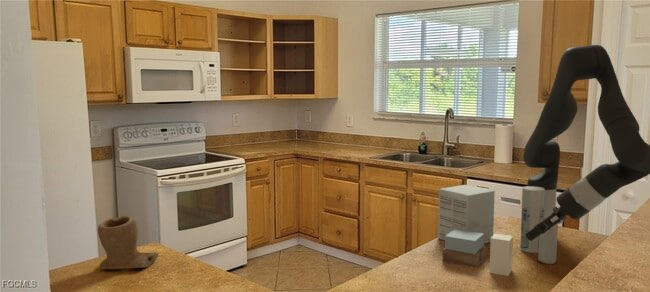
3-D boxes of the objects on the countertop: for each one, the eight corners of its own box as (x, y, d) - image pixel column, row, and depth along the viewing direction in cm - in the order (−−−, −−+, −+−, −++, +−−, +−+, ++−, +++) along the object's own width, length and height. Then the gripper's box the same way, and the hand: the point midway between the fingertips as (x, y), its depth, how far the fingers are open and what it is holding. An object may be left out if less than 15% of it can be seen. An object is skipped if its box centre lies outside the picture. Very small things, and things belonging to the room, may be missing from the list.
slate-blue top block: (454, 241, 159) (454, 228, 158) (483, 246, 154) (484, 233, 153) (444, 249, 151) (445, 236, 151) (474, 254, 146) (475, 240, 146)
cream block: (493, 267, 146) (494, 233, 145) (511, 270, 144) (513, 236, 142) (489, 272, 142) (490, 238, 141) (508, 276, 139) (509, 240, 138)
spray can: (517, 246, 165) (520, 185, 162) (539, 247, 164) (541, 186, 161) (522, 252, 158) (525, 190, 156) (544, 253, 157) (547, 190, 155)
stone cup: (91, 275, 141) (88, 223, 140) (109, 260, 153) (106, 212, 151) (146, 275, 142) (143, 222, 140) (159, 260, 153) (157, 212, 152)
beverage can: (557, 265, 148) (559, 225, 146) (540, 264, 149) (542, 224, 147) (553, 259, 152) (555, 220, 151) (536, 258, 153) (538, 219, 152)
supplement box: (463, 232, 181) (464, 184, 179) (493, 241, 170) (495, 190, 168) (436, 238, 174) (438, 188, 172) (466, 248, 163) (468, 195, 161)
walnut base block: (453, 252, 160) (453, 240, 159) (485, 258, 155) (485, 245, 154) (442, 262, 151) (442, 249, 151) (476, 268, 146) (476, 255, 146)
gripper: (575, 182, 136) (529, 217, 144) (564, 191, 124) (514, 229, 132) (596, 204, 133) (548, 238, 141) (587, 215, 122) (535, 252, 130)
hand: (532, 234), depth 137 cm, fingers open, 8 cm apart
